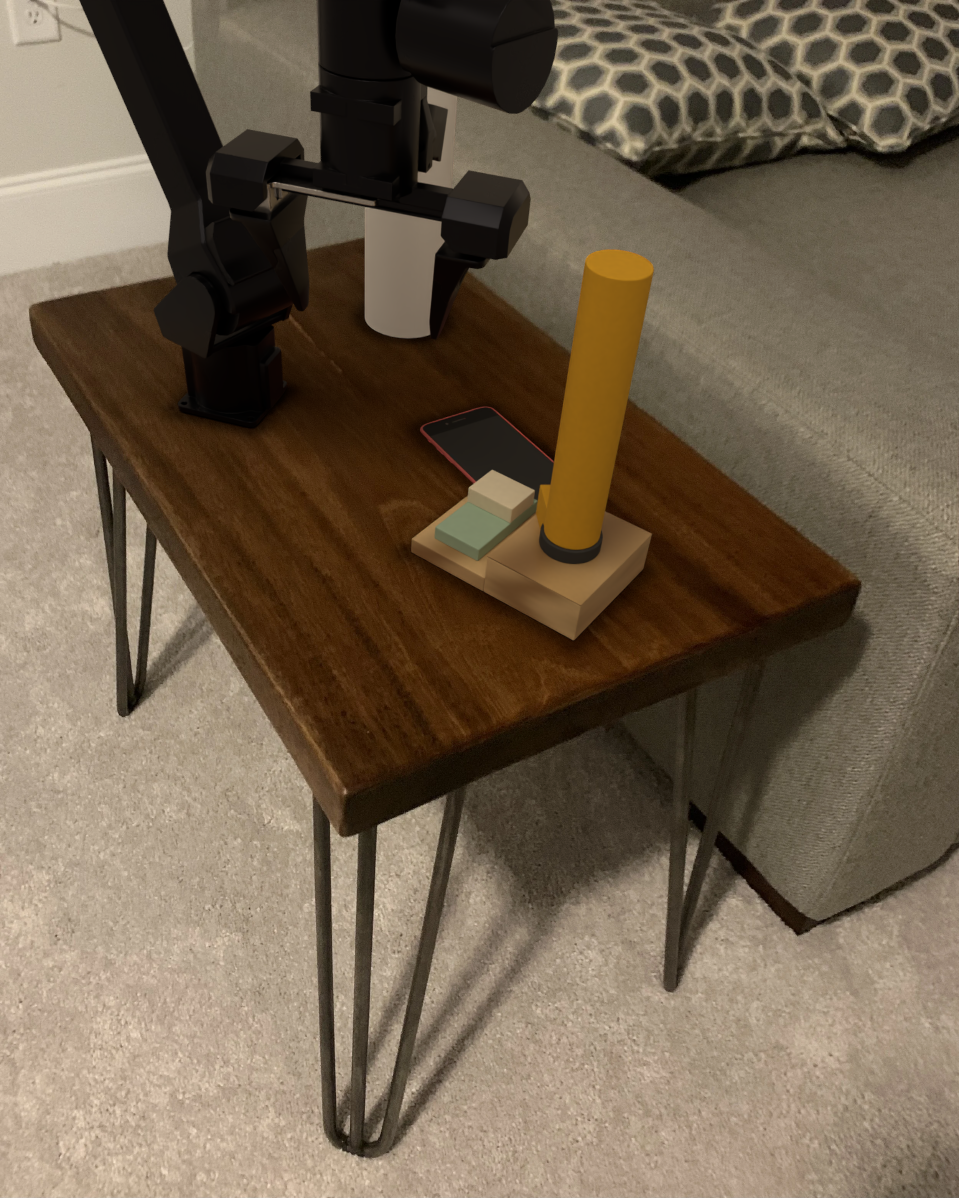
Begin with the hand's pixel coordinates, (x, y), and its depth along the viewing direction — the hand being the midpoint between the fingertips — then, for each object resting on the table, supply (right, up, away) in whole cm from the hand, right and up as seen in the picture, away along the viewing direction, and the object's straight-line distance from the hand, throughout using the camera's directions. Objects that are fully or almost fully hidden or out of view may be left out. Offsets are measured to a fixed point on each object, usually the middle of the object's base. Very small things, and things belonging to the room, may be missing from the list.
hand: (368, 322), depth 68 cm
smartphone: (+9, -8, +11) cm, 16 cm away
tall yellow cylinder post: (+13, -15, -1) cm, 20 cm away
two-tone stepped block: (+8, -13, +3) cm, 15 cm away
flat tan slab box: (+11, -16, +2) cm, 19 cm away
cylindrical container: (0, +7, +26) cm, 26 cm away
